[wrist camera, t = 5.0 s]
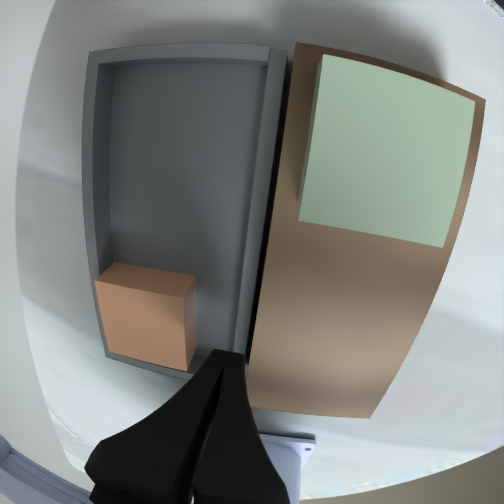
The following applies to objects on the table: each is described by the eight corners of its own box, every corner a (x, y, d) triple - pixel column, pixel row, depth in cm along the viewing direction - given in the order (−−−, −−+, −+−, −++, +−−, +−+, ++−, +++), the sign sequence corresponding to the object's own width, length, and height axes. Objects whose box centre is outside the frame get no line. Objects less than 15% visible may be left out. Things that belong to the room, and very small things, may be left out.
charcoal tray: (244, 365, 17) (239, 390, 16) (120, 337, 18) (106, 357, 16) (288, 58, 11) (286, 48, 9) (113, 57, 11) (89, 52, 9)
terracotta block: (109, 351, 15) (124, 330, 17) (186, 371, 15) (196, 346, 16) (94, 280, 13) (114, 261, 15) (183, 298, 13) (196, 275, 14)
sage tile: (419, 225, 10) (442, 247, 8) (297, 201, 10) (298, 220, 8) (445, 102, 8) (475, 101, 6) (317, 67, 8) (323, 54, 6)
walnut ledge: (362, 380, 17) (369, 418, 14) (249, 366, 17) (241, 405, 15) (450, 100, 10) (485, 99, 7) (295, 59, 11) (295, 42, 8)
